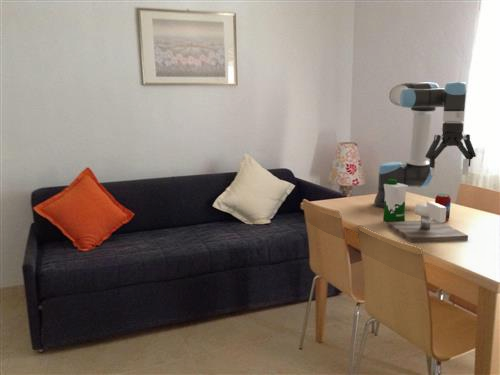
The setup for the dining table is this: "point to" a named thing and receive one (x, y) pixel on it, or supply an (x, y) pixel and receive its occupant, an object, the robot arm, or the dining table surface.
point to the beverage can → (444, 202)
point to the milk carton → (394, 201)
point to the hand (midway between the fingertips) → (449, 175)
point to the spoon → (431, 211)
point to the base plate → (426, 232)
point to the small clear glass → (425, 223)
